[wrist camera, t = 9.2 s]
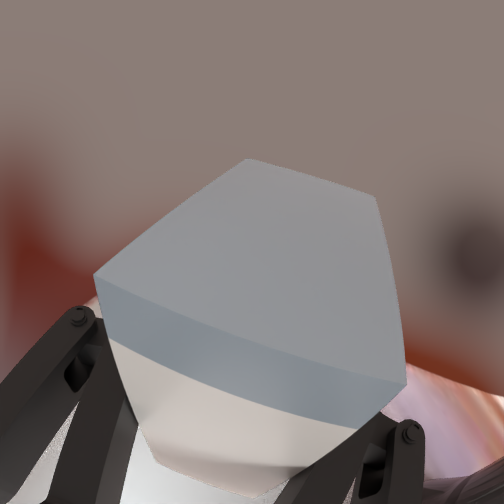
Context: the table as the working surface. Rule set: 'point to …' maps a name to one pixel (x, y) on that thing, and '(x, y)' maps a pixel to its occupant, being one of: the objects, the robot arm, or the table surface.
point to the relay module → (255, 326)
